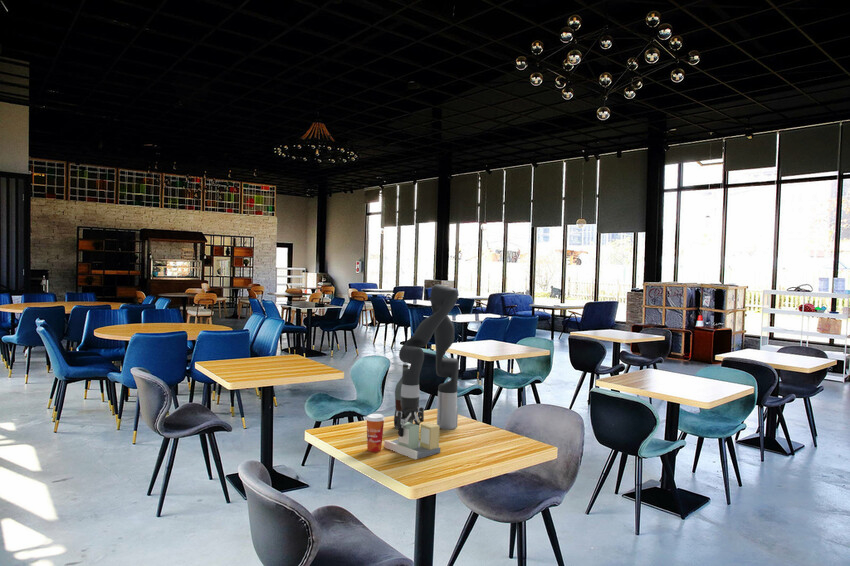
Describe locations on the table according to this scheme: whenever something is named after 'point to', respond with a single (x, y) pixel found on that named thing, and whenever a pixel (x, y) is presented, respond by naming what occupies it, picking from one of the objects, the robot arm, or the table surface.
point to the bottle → (399, 396)
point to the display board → (410, 450)
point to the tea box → (410, 436)
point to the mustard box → (429, 436)
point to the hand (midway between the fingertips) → (408, 434)
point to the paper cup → (374, 432)
